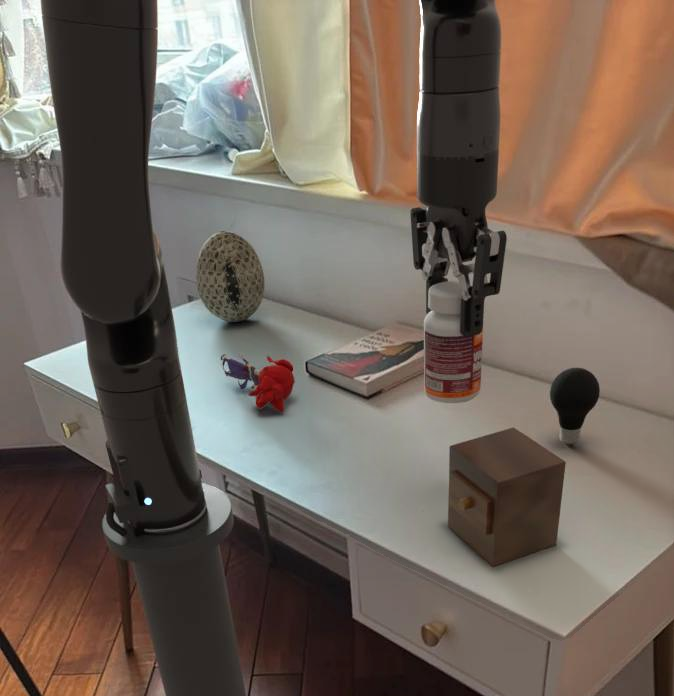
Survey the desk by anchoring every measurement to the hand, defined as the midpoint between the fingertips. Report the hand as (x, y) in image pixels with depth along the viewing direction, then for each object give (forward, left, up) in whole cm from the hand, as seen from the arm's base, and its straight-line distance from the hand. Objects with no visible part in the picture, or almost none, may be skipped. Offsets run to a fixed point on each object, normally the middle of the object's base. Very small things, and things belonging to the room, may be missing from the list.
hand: (453, 324), depth 88 cm
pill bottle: (0, 0, -8) cm, 8 cm away
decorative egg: (-1, +71, -20) cm, 74 cm away
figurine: (-10, +37, -20) cm, 44 cm away
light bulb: (+19, +2, -20) cm, 28 cm away
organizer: (0, -11, -20) cm, 23 cm away
